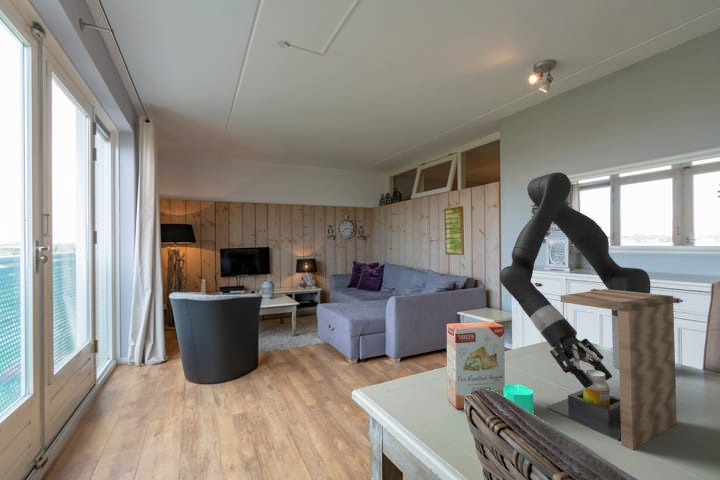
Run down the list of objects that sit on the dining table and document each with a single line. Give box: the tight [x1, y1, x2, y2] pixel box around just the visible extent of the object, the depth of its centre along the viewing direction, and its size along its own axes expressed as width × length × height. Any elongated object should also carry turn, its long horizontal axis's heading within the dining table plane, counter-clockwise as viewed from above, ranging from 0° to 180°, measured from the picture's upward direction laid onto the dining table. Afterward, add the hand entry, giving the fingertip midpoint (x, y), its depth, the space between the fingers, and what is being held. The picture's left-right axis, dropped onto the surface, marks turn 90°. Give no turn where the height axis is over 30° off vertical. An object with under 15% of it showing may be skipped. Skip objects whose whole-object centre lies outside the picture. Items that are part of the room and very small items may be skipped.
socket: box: [545, 389, 621, 442], centre depth 81 cm, size 16×16×4 cm
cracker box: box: [446, 321, 506, 410], centre depth 88 cm, size 14×6×21 cm, turn 99°
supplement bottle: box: [582, 369, 611, 407], centre depth 81 cm, size 5×5×10 cm
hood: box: [559, 288, 678, 451], centre depth 78 cm, size 20×14×30 cm
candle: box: [504, 383, 535, 415], centre depth 72 cm, size 6×6×12 cm
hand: (599, 382), depth 81 cm, fingers open, 8 cm apart
